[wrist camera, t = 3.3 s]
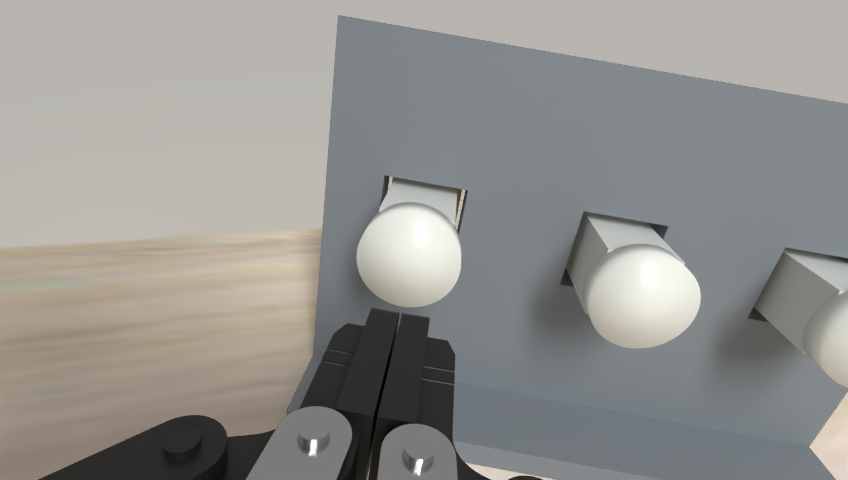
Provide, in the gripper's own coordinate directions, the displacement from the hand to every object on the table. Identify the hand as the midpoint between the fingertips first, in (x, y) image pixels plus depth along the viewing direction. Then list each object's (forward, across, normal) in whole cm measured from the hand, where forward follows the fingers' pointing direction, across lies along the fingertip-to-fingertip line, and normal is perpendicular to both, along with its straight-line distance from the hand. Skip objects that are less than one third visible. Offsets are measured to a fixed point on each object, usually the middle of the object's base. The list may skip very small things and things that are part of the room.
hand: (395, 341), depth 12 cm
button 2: (+11, 0, +3) cm, 11 cm away
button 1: (+11, -18, +3) cm, 21 cm away
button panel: (+11, -9, +11) cm, 18 cm away
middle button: (+11, -9, +3) cm, 14 cm away
